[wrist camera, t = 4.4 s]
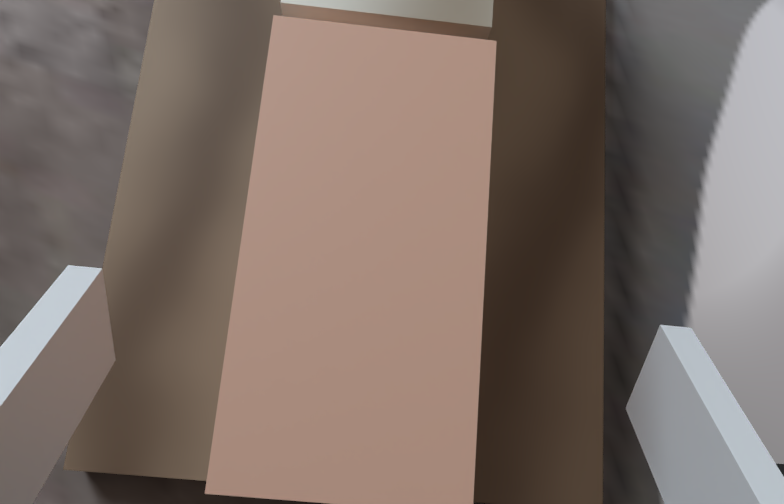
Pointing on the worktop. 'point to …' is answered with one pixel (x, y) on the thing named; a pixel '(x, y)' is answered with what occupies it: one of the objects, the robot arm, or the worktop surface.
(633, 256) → the worktop surface
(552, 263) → the beige and brown block
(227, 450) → the pink beveled block
